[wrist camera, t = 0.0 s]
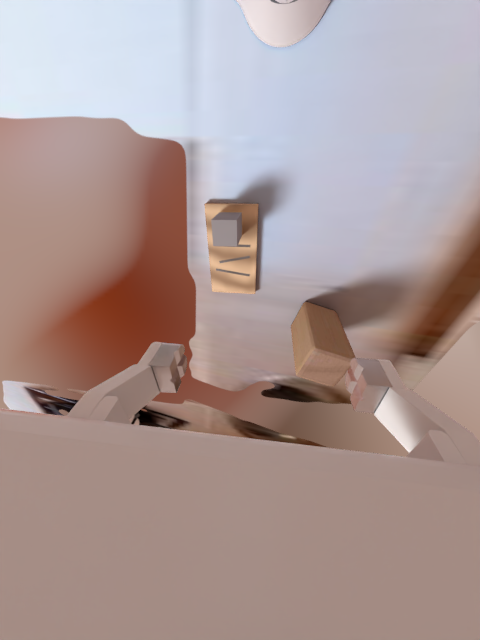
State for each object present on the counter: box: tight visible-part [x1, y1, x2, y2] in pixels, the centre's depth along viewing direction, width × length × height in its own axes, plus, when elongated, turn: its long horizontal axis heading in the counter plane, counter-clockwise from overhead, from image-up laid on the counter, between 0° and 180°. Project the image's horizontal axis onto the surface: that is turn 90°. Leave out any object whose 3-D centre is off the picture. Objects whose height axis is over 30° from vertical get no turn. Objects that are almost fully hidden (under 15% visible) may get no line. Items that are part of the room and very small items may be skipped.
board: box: [205, 203, 258, 294], centre depth 56 cm, size 22×12×2 cm, turn 1°
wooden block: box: [291, 302, 356, 386], centre depth 57 cm, size 10×10×20 cm
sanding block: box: [211, 212, 242, 247], centre depth 48 cm, size 5×5×9 cm
